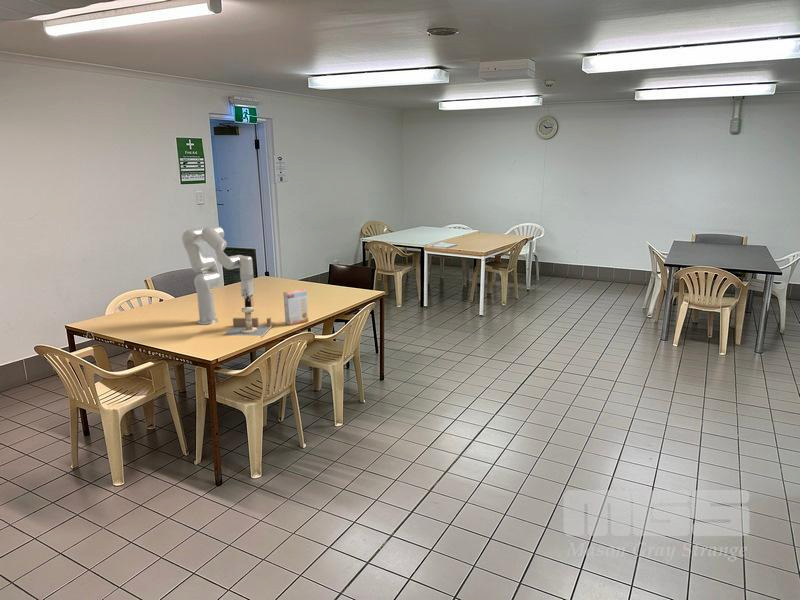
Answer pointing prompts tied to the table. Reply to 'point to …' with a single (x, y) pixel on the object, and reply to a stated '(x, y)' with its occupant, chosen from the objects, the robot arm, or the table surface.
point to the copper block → (251, 301)
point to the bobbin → (248, 320)
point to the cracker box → (295, 306)
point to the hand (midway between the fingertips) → (249, 306)
